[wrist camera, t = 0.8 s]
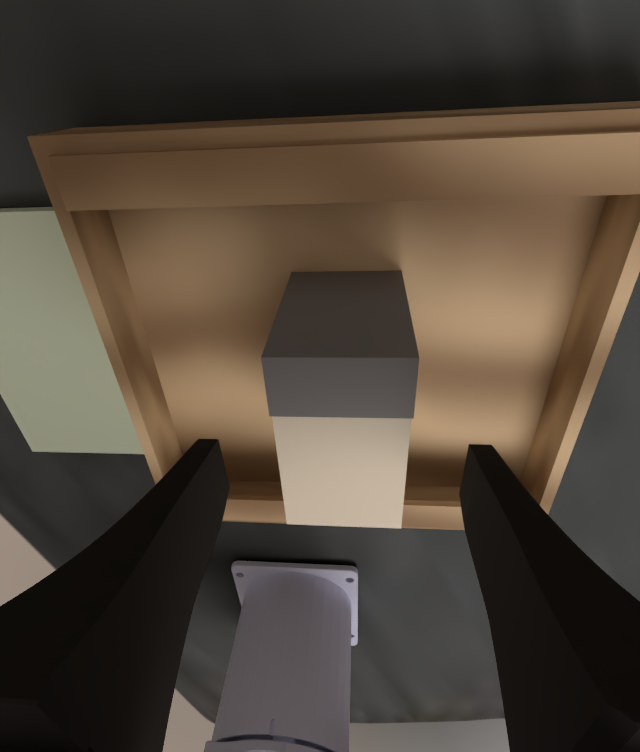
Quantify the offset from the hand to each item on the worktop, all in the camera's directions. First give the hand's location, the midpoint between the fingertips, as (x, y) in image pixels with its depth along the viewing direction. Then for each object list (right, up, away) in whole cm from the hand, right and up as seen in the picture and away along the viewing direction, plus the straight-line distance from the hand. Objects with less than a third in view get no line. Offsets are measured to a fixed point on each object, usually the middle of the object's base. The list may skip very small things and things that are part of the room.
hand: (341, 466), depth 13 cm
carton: (+1, +4, +6) cm, 7 cm away
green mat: (-12, +4, +7) cm, 15 cm away
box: (0, +4, +5) cm, 7 cm away
